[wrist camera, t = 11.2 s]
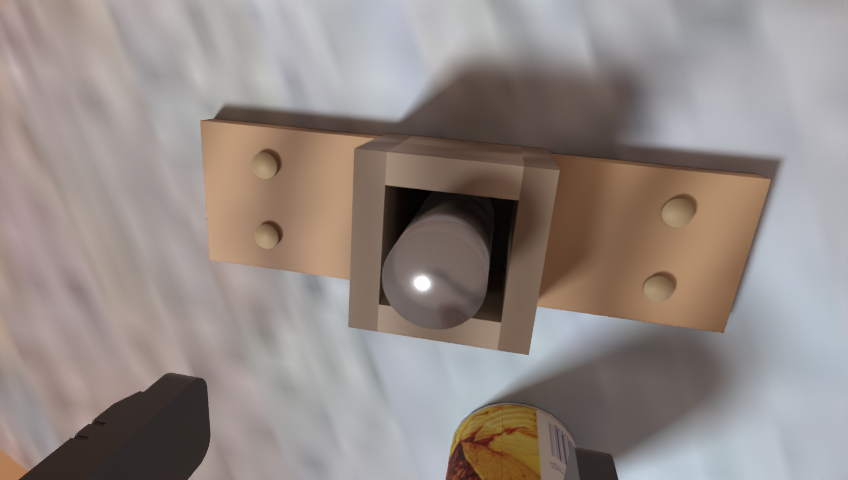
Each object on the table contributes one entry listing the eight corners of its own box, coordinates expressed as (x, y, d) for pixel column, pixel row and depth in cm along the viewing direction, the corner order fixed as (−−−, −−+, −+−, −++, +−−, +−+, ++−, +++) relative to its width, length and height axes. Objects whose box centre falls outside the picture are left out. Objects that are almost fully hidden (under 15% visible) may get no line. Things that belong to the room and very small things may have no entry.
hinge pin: (498, 186, 26) (493, 238, 18) (489, 257, 28) (480, 336, 19) (424, 178, 27) (384, 224, 18) (418, 247, 28) (379, 321, 20)
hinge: (760, 170, 24) (837, 199, 18) (713, 325, 27) (767, 392, 21) (212, 115, 28) (136, 125, 22) (221, 255, 30) (155, 296, 25)
